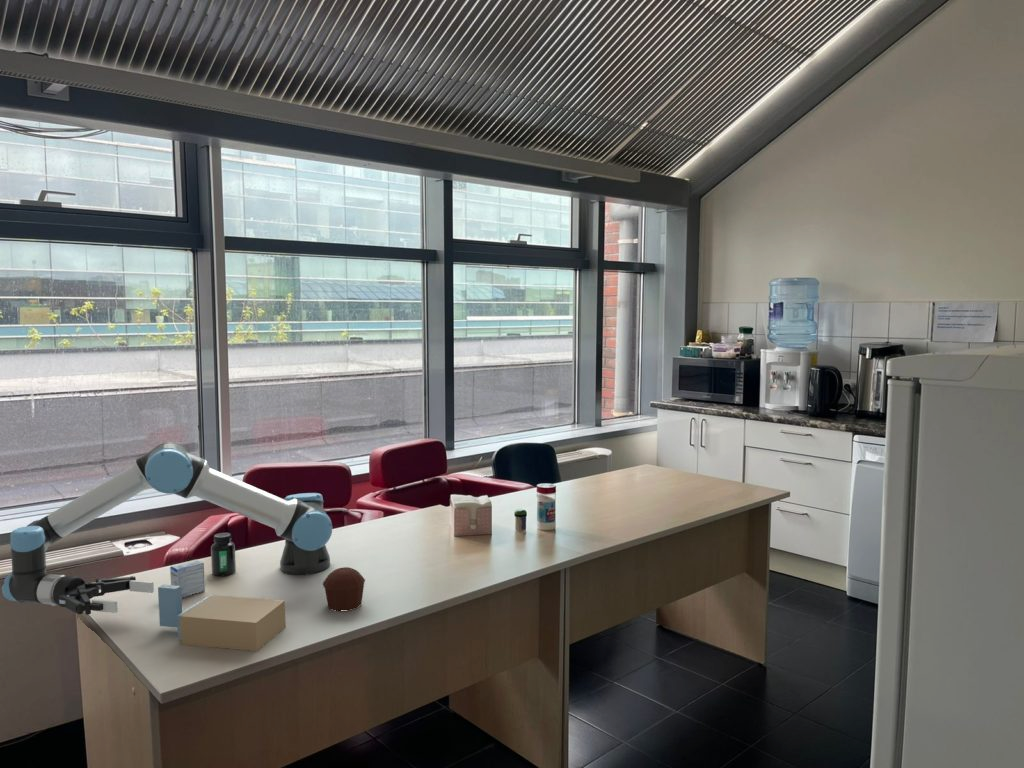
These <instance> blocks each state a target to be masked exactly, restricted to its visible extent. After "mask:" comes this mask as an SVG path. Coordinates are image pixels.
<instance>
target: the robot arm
mask: <svg viewBox="0 0 1024 768" xmlns="http://www.w3.org/2000/svg"><path fill="white" fill-rule="evenodd" d="M148 488H149V489H154V490H155V491H157V492H159V493H163V494H172V495H176V496H178V497H181V498H183V499H185V500H186V499H190V498H192V497H197V498H199V499H201V500H204V501H206V502H209V503H211V504H214V505H216V506H218V507H221V508H224V509H226V510H227V511H231V512H234V513H236V514H237V515H238V514H239V515H241V516H243V517H245V518H248V519H250V520H253V521H255V522H258V523H260V524H263V525H265V526H268V527H270V528H272V529H274V530H275V533H276V536H277V537H279V538H282V539H284V540H285V543H284V544H285V545H284V546H283V551H282V554H281V558H280V561H279V565H280V566H279V567H280V570H281V571H282V572H283V573H285V574H290V575H305V574H314V573H318V572H321V571H323V570H326V569H328V568H329V567H330V566H331V557H330V554H329V551H328V549H327V543H328V542H329V540H330V539H331V537H332V534H333V523H332V520H331V517H330V516H329V515H328V514H327V512H326V511H325V509H324V498H323V494H321V493H318V492H306V493H305V492H303V493H296V494H295V493H294V494H290V495H286V497H284V498H282V497H279V496H277V495H274V494H273V493H271V492H270V493H269V492H268V491H265V490H263V489H262V488H261V489H260V488H258V487H256V486H255V485H251V484H248V483H246V482H245V481H243V480H239V479H237V478H235V477H233V476H230V475H227V474H225V473H223V472H221V471H218V470H217V469H214V468H211V467H210V466H209V463H208V461H207V459H204V458H202V457H200V456H198V455H195V454H193V453H191V451H190V450H189V449H188V448H187V447H186V446H185V445H184V444H182V443H179V442H176V441H166V442H162V443H160V444H158V445H155V447H153V448H151V450H150V451H148V452H146V453H145V454H143V455H142V456H141V457H139V458H137V459H135V460H134V463H133V465H132V466H130V467H128V468H127V469H125V470H123V471H121V472H120V473H117V474H116V475H115V476H113V477H112V478H109V479H108V480H105V482H104V481H103V483H101V484H99V485H98V486H96V487H94V488H92V489H91V490H88V491H87V492H85V493H83V494H82V495H80V496H78V497H77V498H75V499H73V500H72V501H70V502H68V503H66V504H64V505H62V506H61V507H58V508H57V509H56V510H54V511H52V512H51V513H49V514H47V515H46V516H44V517H42V518H40V519H36V520H33V521H32V522H31V523H29V524H27V525H26V526H20V527H18V528H16V529H13V530H12V531H11V532H10V542H9V547H10V556H11V557H10V558H11V570H12V572H11V573H9V574H8V575H7V576H6V577H5V578H4V580H3V585H2V586H1V592H2V595H3V596H4V598H5V599H7V600H8V601H12V602H13V601H14V602H18V603H22V604H23V603H24V604H25V603H26V604H27V603H28V604H29V603H30V604H42V605H51V607H55V606H59V607H60V608H61V607H62V608H66V609H68V610H70V611H72V612H74V613H75V614H77V615H82V614H84V613H85V615H86V616H88V615H91V614H92V611H93V612H101V613H102V612H103V613H110V614H111V613H112V614H115V613H118V612H119V611H118V601H117V600H109V599H97V598H96V597H102V596H104V595H105V594H109V593H115V592H122V591H123V592H124V591H127V590H128V591H130V592H136V593H137V592H138V593H147V594H153V593H154V592H155V590H154V589H155V588H154V585H155V584H154V581H149V580H148V581H146V580H137V578H136V576H134V575H133V576H126V577H125V576H124V577H112V578H96V579H95V582H91V581H90V582H85V580H84V579H83V578H82V577H80V576H78V575H76V576H73V575H65V574H54V573H53V574H51V573H47V563H46V562H47V560H46V552H47V550H48V549H49V547H50V546H51V545H54V544H55V543H57V542H58V541H60V540H61V539H64V538H65V537H66V536H68V535H69V534H72V533H74V532H75V531H76V530H78V529H80V528H81V527H84V526H85V525H87V524H89V523H90V522H92V521H94V520H96V519H97V518H99V517H101V516H102V515H104V514H105V513H107V512H109V511H111V510H113V509H114V508H117V506H119V505H122V504H123V503H124V502H127V501H128V500H130V499H131V498H133V497H134V496H137V495H138V494H140V493H141V492H144V491H145V490H147V489H148ZM92 598H93V599H92ZM91 599H92V600H91Z"/></svg>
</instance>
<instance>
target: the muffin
mask: <svg viewBox="0 0 1024 768" xmlns="http://www.w3.org/2000/svg"><path fill="white" fill-rule="evenodd" d="M365 581H366V579H365V578H364V577H363V575H362V574H361V573H360V571H358V570H356V569H354V568H352V567H349V566H347V567H346V566H345V567H344V566H343V567H339V568H335V570H333V571H331V572H330V573H329V574H328V575H327V576H326V578H325V579H324V580H323V582H322V585H323V588H324V592H325V597H326V602H327V606H328V609H329V610H330V609H333V610H332V611H334V610H336V611H335V612H337V611H338V612H342V611H341V610H350V609H353V610H355V609H354V608H357V607H358V606H359V605H360V604H361V605H362V602H363V593H364V589H365V588H364V587H365ZM361 605H360V606H361ZM360 606H359V607H360ZM359 607H358V608H359ZM358 608H357V609H358ZM350 611H351V610H350Z"/></svg>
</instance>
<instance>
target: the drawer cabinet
mask: <svg viewBox="0 0 1024 768" xmlns="http://www.w3.org/2000/svg"><path fill="white" fill-rule="evenodd" d="M210 596H211V597H209V598H208V599H206V600H204V601H203V602H201V603H200V604H198V605H197V606H195V607H193V608H192V609H190V610H189V611H187V612H186V613H184V614H182V615H181V616H180V633H181V639H180V645H184V646H194V647H195V646H196V647H197V646H198V647H207V648H216V647H219V648H218V649H226V648H229V649H228V650H237V649H240V651H247V650H250V651H249V652H258V651H259V650H260V649H262V648H263V647H264V646H265V645H267V644H268V643H269V642H270V641H271V640H272V639H273V637H274V636H275V635H276V636H277V635H278V634H279V633H281V632H282V631H283V630H285V629H286V628H287V627H286V626H287V625H286V601H285V600H282V599H270V598H269V599H268V598H257V597H245V596H232V595H231V596H230V595H218V594H212V595H210ZM276 636H275V637H276ZM275 637H274V638H275ZM269 640H270V641H269ZM268 641H269V642H268ZM267 642H268V643H267ZM263 645H264V646H263ZM262 646H263V647H262ZM261 647H262V648H261Z"/></svg>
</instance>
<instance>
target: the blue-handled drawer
mask: <svg viewBox="0 0 1024 768" xmlns="http://www.w3.org/2000/svg"><path fill="white" fill-rule="evenodd" d="M157 592H158V593H157V595H158V597H157V598H158V618H159V627H167V628H168V627H169V628H177V639H178V640H181V633H180V616H181V615H182V614H184V613H186V612H187V611H189V610H190V609H192V608H193V607H195V606H197V605H198V604H200V603H201V602H203V601H204V600H206V599H208V598H209V597H211V596H212V595H207V596H206V597H205V596H204V598H202V599H201V600H199V601H197V602H196V603H195V604H193V605H191V606H190V607H188V608H187V609H185V610H183V604H182V603H183V601H182V598H181V586H174V585H171V584H161V585H160V586H158V587H157Z"/></svg>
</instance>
